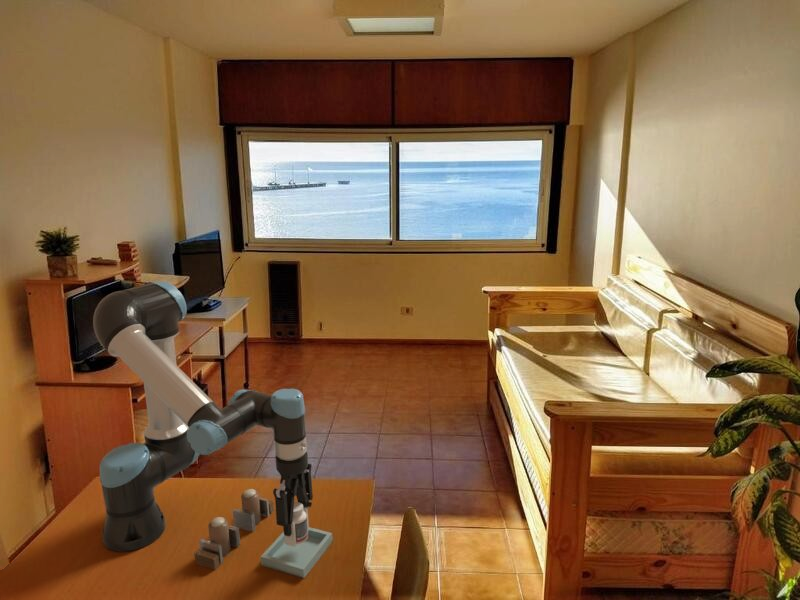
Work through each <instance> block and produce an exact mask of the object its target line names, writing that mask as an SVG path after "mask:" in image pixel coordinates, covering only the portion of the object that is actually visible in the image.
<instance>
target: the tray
mask: <svg viewBox="0 0 800 600" xmlns="http://www.w3.org/2000/svg"><path fill="white" fill-rule="evenodd" d="M333 541H334V540H333V532H329V531H327V530H326V531H325V530H321V529H318V528H313V527H310V526H309V531H308V538H307V539H306V541H304V542H303V543H300V544H296V546H295V547H294V546H290V545H287V544H285V535H284V531H282V533H281V534H280V535H279V536H278V537H277V538H276V539H275V541H273V542H272V543H271V544H270V546H269V547H268V548H267V549H266V550H265V551H264V553H263V554H261V555H260V563H261V566H263V567H266V568H269V569H272V570H276V571H279V572H282V573H286V574H288V575H292V576H295V577H298V578H302V579H305V578H306V577H307V575H308V574H309V573H310V571H311V570H312V569H313V568H314V567H315V565H316V564H317V563H318V561H319V560H320V559H321V557H322V556H323V554H324V553H326V551H327V550H328V548H329V547H330V546H331V544H332V543H333Z"/></svg>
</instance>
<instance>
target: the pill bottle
mask: <svg viewBox="0 0 800 600" xmlns="http://www.w3.org/2000/svg"><path fill="white" fill-rule="evenodd" d="M293 521H294V522H295V532H296V544H300V543H303V542H304V541H306V539H307V538H308V527H307V515H306V513H305V511H304V510H303V504H302V503H300V502H298V501H294V509H293Z"/></svg>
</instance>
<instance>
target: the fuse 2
mask: <svg viewBox="0 0 800 600" xmlns="http://www.w3.org/2000/svg"><path fill="white" fill-rule="evenodd" d="M259 497H260V493H259V491H257V490H256V489H255V488H249V489H246V490H244V492H242V494H241V495H240V500H241V510H244V511H248V512H252V513H254V518H255V526H257V525H258V524H260V523H261V520H262V517H261V516H262V515H260V503H259Z"/></svg>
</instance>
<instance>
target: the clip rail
mask: <svg viewBox="0 0 800 600" xmlns="http://www.w3.org/2000/svg"><path fill="white" fill-rule="evenodd" d="M259 503H260V515H261V516H263V517H267V518H268V517H270V515H272V514H273V513H274V512H275V507H274V506H275V505H274V501H273V500H270V499H268V498H264V497H260V496H259ZM232 516H233V524H234V525H231V524H230V525H229V524H228V529H229V539H230V547H231V546H232V547H236V548H239V547H240V546H241V539H240V538H241V537H240V529H241V530H244V531H249V532H252V533H253V532H255V531H256V525H255V518H254V513H252V512H248V511H244V510H242V508H241V509H240V508H236V507H235V508H234V509H233V510H232ZM198 543H199V548H198V549H197V550H196V551H195V552H194V553H193V555H194V562H195V564H196V565H199V566H202V567H206V568H208V569H211V570H214V571H216V570H217V569H218V568H219V567H220V566H221V565H222V564H223V563H224V560H223V558H224V557H222V548H221V544H217V543H214V542H211V541H210V540H207V539H205V538H200V539H199V541H198Z"/></svg>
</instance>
